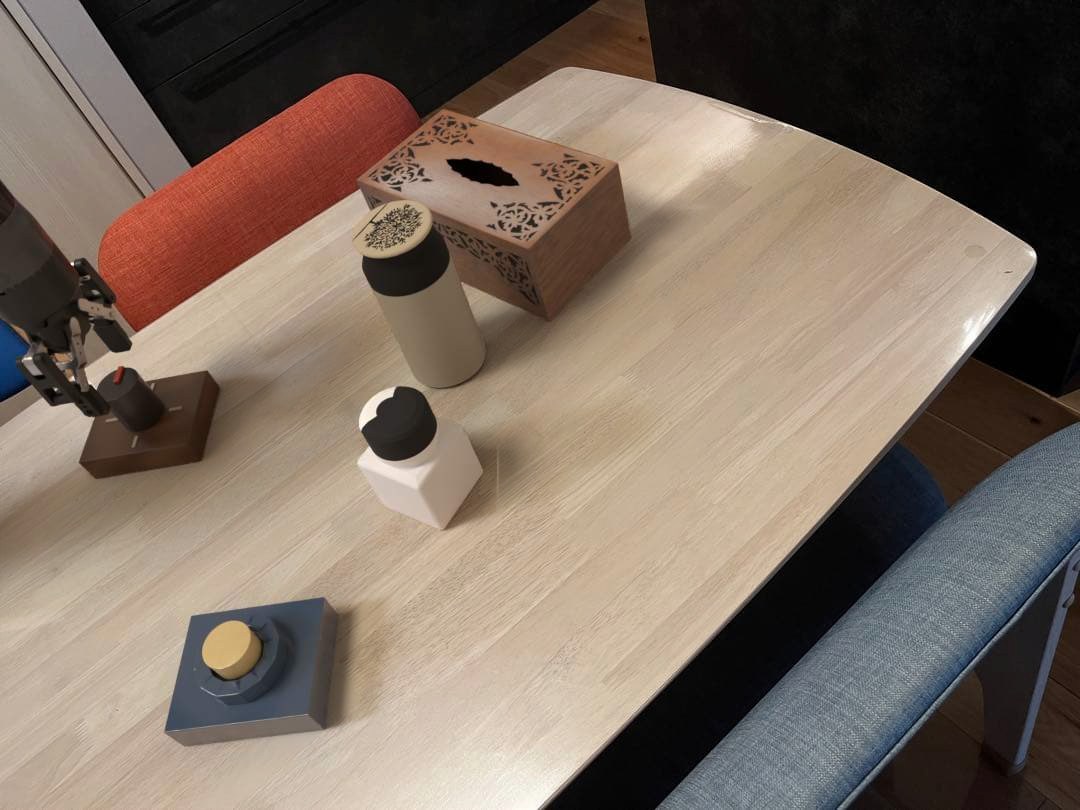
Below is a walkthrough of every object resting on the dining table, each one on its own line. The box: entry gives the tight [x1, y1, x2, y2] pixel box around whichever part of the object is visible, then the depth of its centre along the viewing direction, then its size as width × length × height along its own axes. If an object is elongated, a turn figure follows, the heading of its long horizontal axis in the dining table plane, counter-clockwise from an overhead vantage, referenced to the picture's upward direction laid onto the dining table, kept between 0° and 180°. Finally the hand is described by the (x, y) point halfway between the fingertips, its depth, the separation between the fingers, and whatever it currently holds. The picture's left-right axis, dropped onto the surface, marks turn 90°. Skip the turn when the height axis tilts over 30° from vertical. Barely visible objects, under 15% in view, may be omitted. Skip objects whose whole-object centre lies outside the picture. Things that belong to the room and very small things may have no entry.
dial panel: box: [78, 369, 221, 480], centre depth 96 cm, size 12×10×3 cm
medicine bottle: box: [357, 385, 484, 531], centre depth 80 cm, size 7×7×12 cm
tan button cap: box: [202, 621, 262, 679], centre depth 71 cm, size 4×4×2 cm
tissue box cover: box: [356, 107, 632, 322], centre depth 101 cm, size 26×14×10 cm, turn 50°
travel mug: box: [351, 200, 487, 389], centre depth 88 cm, size 8×8×18 cm
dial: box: [96, 365, 164, 431], centre depth 93 cm, size 4×4×5 cm
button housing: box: [163, 596, 339, 747], centre depth 74 cm, size 12×10×5 cm
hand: (112, 380), depth 91 cm, fingers open, 8 cm apart
